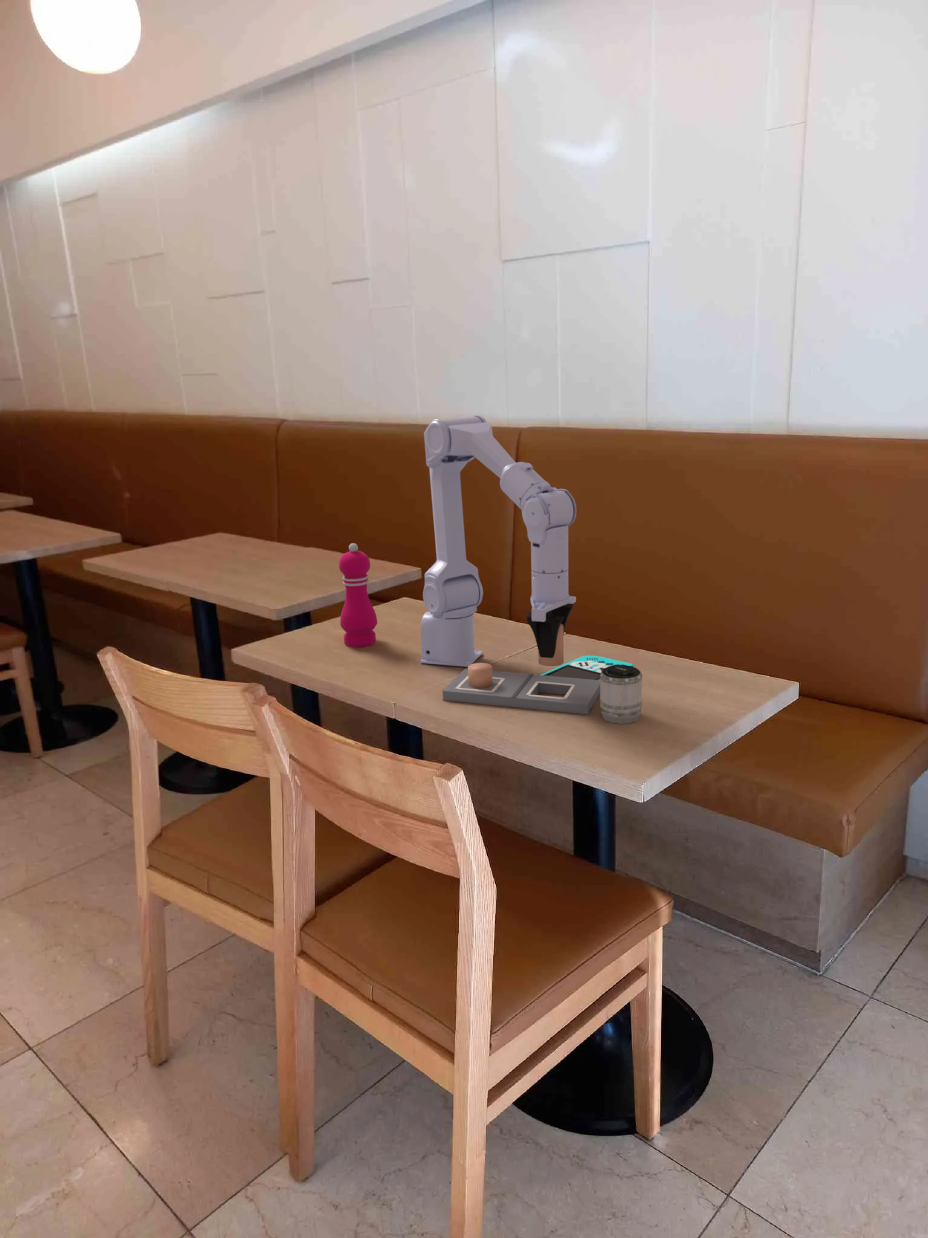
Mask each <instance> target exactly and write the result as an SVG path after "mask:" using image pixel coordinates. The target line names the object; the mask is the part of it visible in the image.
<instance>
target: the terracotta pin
mask: <svg viewBox="0 0 928 1238" xmlns="http://www.w3.org/2000/svg"><path fill="white" fill-rule="evenodd" d="M564 645H565V644H564V636H563V625H562V624H561V625H560V627H559V631H558V635H557V642H556V650H555V654H554V657H553V658H544V657H540V655H539V651H538V650H537V651H538V653H537V654H538V655H537V656H538V664H539V665H541V666H545V667H556V666H557V667H559V666H562V665H564V664H565V663H564V661H565V660H564V659H565V657H564V656H565V655H564V654H565V652H564V647H565V646H564Z"/></svg>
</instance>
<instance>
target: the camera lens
mask: <svg viewBox="0 0 928 1238" xmlns="http://www.w3.org/2000/svg"><path fill="white" fill-rule="evenodd" d="M642 687H643V674H642V671H641V670H640V669H639V668H637V667H635V666H633V667H632V666H627V665H623V664H622V665H620V664H617V665H612V666H609V667H606V668H605V669H603V670H602V672H601V673H600V694H599V698H600V699H599V706H600V708H599V709H600V713H601V717H602V718H603V720H605V721H606V722H608V723H612V724H618V725H619V724H620V725H621V724H622V725H625V724H632V723H635V722H636V721H638V720H639V719H640V714H641V710H642V706H643V705H642V695H643V692H642V691H643V689H642Z"/></svg>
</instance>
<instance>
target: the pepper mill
mask: <svg viewBox="0 0 928 1238" xmlns="http://www.w3.org/2000/svg"><path fill="white" fill-rule="evenodd" d="M348 550H349V551H347V552H345V553H343V554H342V555H341V557H340V558H339V562H338V568H339V571H340V572H341V573H342V574H343V576H342V580H343V581H342V584H343V585H344V586H345V599H344V603H343V607H342V610H341V614H340V618H339V619H340V622H339V625H340V627H341V629H342V630H343V631H344V632H345V633H344V634H343V641H344V642H343V643H344V645H345V646H347V647H351V648H364V647H368V646H372V645H374V644H375V643H376V642H377V635H376V632H375V631H374V629H375V628H376V626H377V624H378V619H377V614H376V611H375V608H374V607H373V605H372V603H371V600H370V599H369V598H370V597H369V595H368V589H367V588H368V583H369V575H368V574H367V573H368V572H369V570H370V568H371V561H370V558H369V556H368V555H367V554H366V553H365V552H364V551H361V550H359V547H358V544H357V543H353V542H352V543H350V544H349V545H348Z"/></svg>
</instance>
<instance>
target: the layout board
mask: <svg viewBox="0 0 928 1238" xmlns="http://www.w3.org/2000/svg"><path fill="white" fill-rule="evenodd" d="M539 693H544V694H553V695H554V694H557V695H564V696H563V697H559V696H549V695H548V696H547V695H538V694H539ZM598 697H600V680H590V679H579V678H567V677H556V676H545V675H541V674H534V673H520V672H519V673H518V672H508V671H499V670H498V671H497V670H493V665H492V664H490V663H487V662H476V663H475V662H473V663H472V664H471V665H469V666H468V667H467V668H464V669H463V670H462V671H461V672H460V673H459V674H458V675H457V676H456V677H455V678H454V679H453V680H452V681H451V682H450V683H449V684H448V685H447V686H446V687H445V688H444V689H442V700H443V701H449V702H451V701H452V702H459V703H471V704H479V705H489V706H490V705H491V706H501V707H512V708H517V709H518V708H520V709H531V710H539V711H550V712H558V713H568V714H569V713H570V714H577V715H578V714H579V715H588V714H589V713H590V711H591V709H592V708H593V706H594V705H595V703H596V702H597V701H596V700H597V699H598Z"/></svg>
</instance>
